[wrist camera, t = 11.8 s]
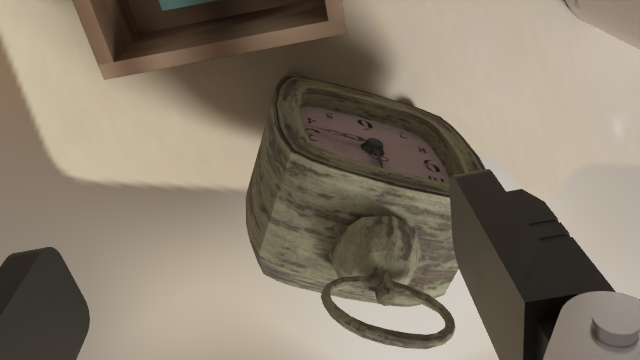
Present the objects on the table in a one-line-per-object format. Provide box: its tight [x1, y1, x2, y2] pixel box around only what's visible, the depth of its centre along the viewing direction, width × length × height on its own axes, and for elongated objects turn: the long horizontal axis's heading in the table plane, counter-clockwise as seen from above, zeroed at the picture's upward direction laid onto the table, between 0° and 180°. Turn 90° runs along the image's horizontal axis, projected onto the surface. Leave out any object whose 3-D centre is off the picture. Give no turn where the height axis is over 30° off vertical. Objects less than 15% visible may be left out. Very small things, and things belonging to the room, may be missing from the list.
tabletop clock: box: [246, 74, 486, 349], centre depth 35 cm, size 14×9×25 cm, turn 73°
